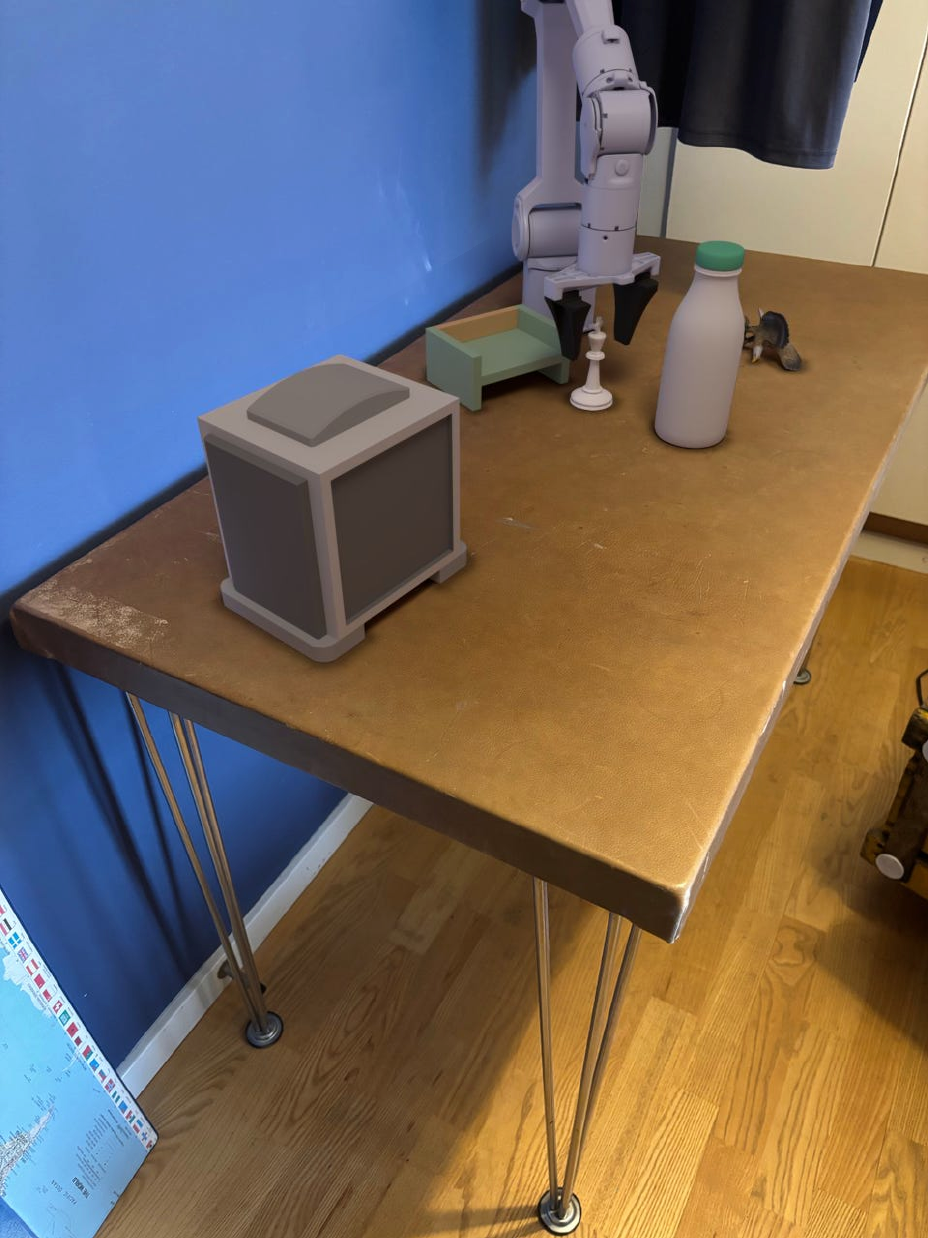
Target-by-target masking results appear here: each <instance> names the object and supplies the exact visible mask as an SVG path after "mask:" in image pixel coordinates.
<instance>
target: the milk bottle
mask: <svg viewBox="0 0 928 1238" xmlns="http://www.w3.org/2000/svg"><path fill="white" fill-rule="evenodd" d="M745 256H746V249H745V248H744V247H743V246H742V245H741V244H738V243H736V242H732V241H728V240H708V241H703V242H701V243H699V244H698V245H697V247H696V251H695V256H694V261H695V262H694V265H693V269H694V271H695V272H694V277H693V280H692V283H691V285H690V286H689V288H688V290H687V292H686V294H685V295H684V297H683V299H682V301H681V302H680V304H679V305H678V307H677V309H676V310H675V313H674V315H673V316H672V320H671V323H670V326H669V328H668V329H669V330H668V335H667V340H666V346H665V351H664V357H663V358H664V359H663V365H662V370H661V377H660V382H659V383H660V385H659V389H658V390H659V391H658V397H657V404H656V406H657V407H656V412H655V417H654V419H655V420H654V429H655V432H656V434H657V436H658V437H659V438H660V439H662V440H663V441H664V442H666V443H669V444H670V445H673V446H677V447H681V448H688V449H704V448H709V447H713V446H715V445H717V444H719V443H720V442H721V441H722V440H723V439H724V437H725V436H726V432H727V428H728V424H729V419H730V415H731V409H732V404H733V399H734V396H735V395H734V394H735V391H736V390H735V388H736V385H737V380H738V373H739V369H740V364H741V359H742V354H743V348H742V347H743V341H744V331H745V315H744V311H743V308H742V303H741V299H740V295H739V283H738V281H739V275H740V274H741V273H742V271H743V268H742V267H743V265H744V261H745Z"/></svg>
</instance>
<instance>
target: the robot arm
mask: <svg viewBox="0 0 928 1238" xmlns="http://www.w3.org/2000/svg"><path fill="white" fill-rule="evenodd" d="M612 3H613V2H612V0H520V9H521V11H522V12H523V13H525V14H526V15H528V16H529V17H531V18H533V20H534V27H535V34H536V144H535V145H536V148H535V149H536V156H535V157H536V158H535V159H536V162H535V163H536V164H535V165H536V166H535V169H536V170H535V171H536V173H535V174H536V175H535V177H534V178H533V179H532V180H531V181H530V182H529V183H528V184H526V185H525V186H524V187H523V188H522V189H521V190H520V191H519V192H518V193H517V194H516V195H515V198H514V202H513V215H512V220H511V245H512V250H513V254H514V256H515V258H517V260H518V261H519V262H522V263H523V266H522V267H523V268H522V269H523V270H522V289H521V290H522V291H521V296H522V297H521V304H523V305H525V306H526V307H528V308H530V309H532V310H534V311H536V312H538V313H540V314H542V315H544V316H546V317H548V318H550V319H551V320H553V321H555V324H556V328H557V332H558V336H559V341H560V347H561V353H562V356H564V357H565V358H567V359H569V360H570V362H575V361H578V360H579V357H580V353H581V346H582V338H583V333H586V332H589V331H592V330H593V331H594V330H595V329H594V325H595V324H596V323H594V317H595V316H594V315H595V307H596V297H597V296H596V294H597V288H599V287H604V286H607V285H612V289H613V298H614V315H613V333H612V334H613V340H614V341H616V342H617V343H619V344H621V345H624V346H626V347H627V346H629V345H631V342H632V341H633V337H634V335H635V332H636V329H637V328H638V327H637V326H638V324H639V322H640V319H641V318H642V316H643V313H644V311H645V310H646V308H647V306H648V305H649V303H650V302H651V300H652V299H653V297H654V296H655V295H656V293H657V292H658V291H659V281H658V280H656V279H654V278H652V277H653V276H657V275H659V274H660V273H659V272H660V266H661V258H662V257H661V256H659V255H657V254H655V253H652V252H649V251H647V252H642V253H634V248H635V239H636V238H635V237H636V230H637V221H638V211H639V204H640V195H641V185H642V178H643V177H642V176H643V170H644V169H643V168H644V159H645V158H644V157H643V156H648V155H650V153H651V152H652V151H653V148H654V145H655V142H656V138H657V133H658V121H659V112H658V111H659V109H658V101H657V97H656V92H655V91H654V89H653V88H652V87H650V86H648V85H647V82H646V81H641V80H640V79H639V75H638V71H637V66H636V63H635V59H634V55H633V51H632V47H631V42H630V39H629V36H628V34H627V32H626V31H625V30H624V28H621V27H620V26H619V25H616V24H615V19H614V11H613V4H612ZM577 87H578V92H579V96H580V100H581V105H582V106H581V110H580V118H579V140H580V141H579V142H580V162H579V163H580V165H579V166H580V173H581V174H582V175H583V184H582V183H581V182H580V181H579V180H577V179H576V178H575V176H576V175H575V174H576V173H575V172H576V171H575V170H576V133H577V132H576V131H577V130H576V129H577V128H576V127H577ZM552 204H553V205H554V204H574V205H565V206H563V205H562V206H544V207H543V206H541V207H536V206H538V205H552Z"/></svg>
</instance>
